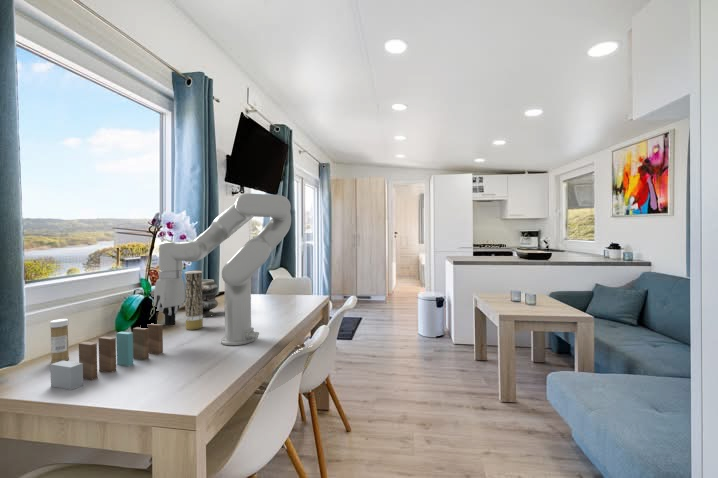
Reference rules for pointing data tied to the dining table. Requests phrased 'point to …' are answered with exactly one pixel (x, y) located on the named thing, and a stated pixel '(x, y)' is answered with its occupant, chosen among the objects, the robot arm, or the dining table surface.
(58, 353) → the sprinkles bottle
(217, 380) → the dining table surface
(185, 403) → the dining table surface
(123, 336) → the domino
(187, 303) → the paper tube
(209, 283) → the stacked stone tower
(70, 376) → the end block
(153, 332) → the domino
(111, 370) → the domino
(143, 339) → the domino
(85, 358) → the domino
